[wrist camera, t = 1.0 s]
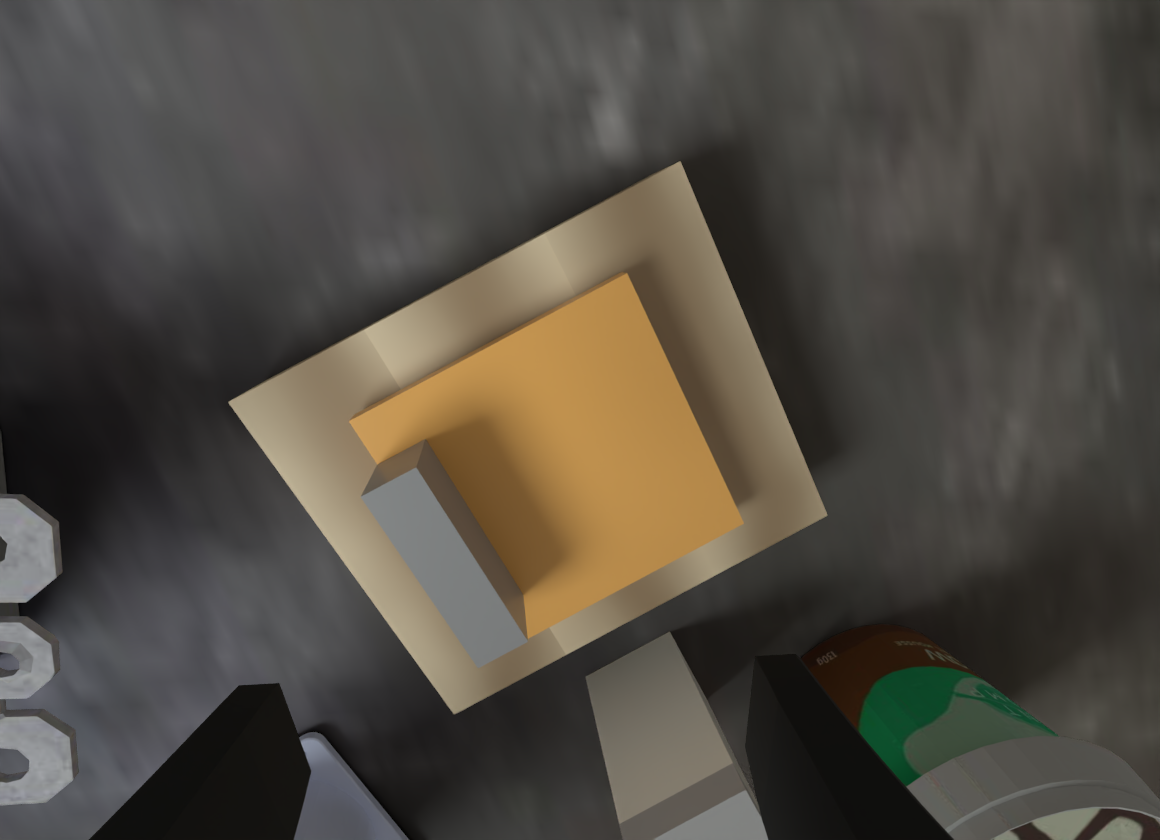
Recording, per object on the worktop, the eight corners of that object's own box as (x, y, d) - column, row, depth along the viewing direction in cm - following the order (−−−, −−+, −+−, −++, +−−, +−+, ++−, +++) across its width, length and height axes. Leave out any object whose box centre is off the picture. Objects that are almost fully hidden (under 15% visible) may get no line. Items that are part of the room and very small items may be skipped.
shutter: (501, 638, 21) (503, 706, 18) (354, 414, 19) (326, 447, 15) (735, 513, 21) (778, 559, 18) (621, 272, 19) (648, 276, 15)
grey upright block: (626, 742, 27) (680, 934, 20) (585, 676, 26) (625, 853, 18) (706, 699, 27) (792, 874, 20) (669, 631, 26) (745, 789, 18)
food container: (1027, 641, 29) (1294, 835, 19) (961, 748, 30) (1181, 980, 20) (806, 565, 26) (990, 748, 17) (743, 686, 27) (880, 922, 18)
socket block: (458, 661, 25) (454, 714, 22) (263, 381, 21) (227, 402, 18) (788, 484, 25) (827, 515, 22) (654, 173, 21) (680, 161, 18)
